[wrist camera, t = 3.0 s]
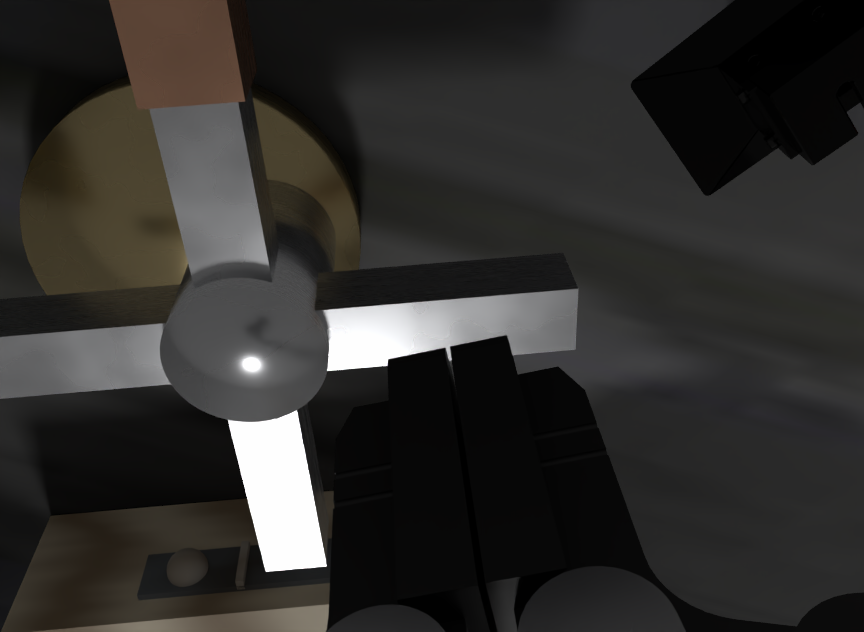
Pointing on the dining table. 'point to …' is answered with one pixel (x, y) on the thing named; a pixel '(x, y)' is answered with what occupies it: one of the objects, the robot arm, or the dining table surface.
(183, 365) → the capstan
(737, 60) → the black angular block
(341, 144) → the dining table surface
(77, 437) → the dining table surface
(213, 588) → the cardboard box
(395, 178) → the dining table surface
